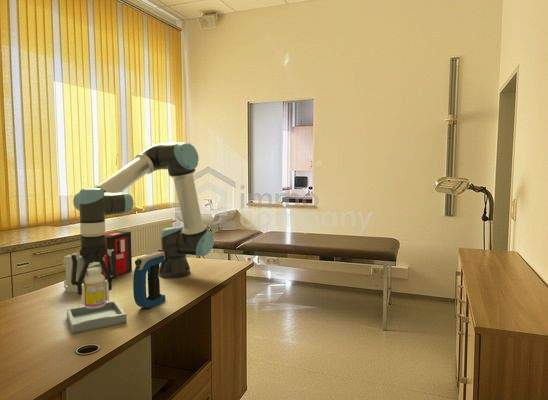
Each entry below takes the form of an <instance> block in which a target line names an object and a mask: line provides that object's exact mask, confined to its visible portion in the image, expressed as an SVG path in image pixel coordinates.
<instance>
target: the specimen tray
mask: <svg viewBox="0 0 548 400" xmlns="http://www.w3.org/2000/svg"><path fill="white" fill-rule="evenodd" d="M66 319H67V323H68V324H69V327H70V331H71V333H72V335H76V334H81V333H85V332H90V331H95V330H99V329H103V328H109V327H113V326H118V325H121V324H126V323H127V322H128V321H127V313H126V311H124V309H123V307H122V306H121V305H120V304H119V302H118V301H117V300H116V299H115V300H109V301H106V304H105V305H104V306H103V307H100V308H96V309H88V308H86V307H85V305H82V306H77V307H72V308H66Z"/></svg>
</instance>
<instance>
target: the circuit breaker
mask: <svg viewBox="0 0 548 400" xmlns="http://www.w3.org/2000/svg"><path fill="white" fill-rule="evenodd" d="M76 253H77V252H74V253H73V252H72V254H76ZM83 262H84V259H83V258H82V256H79V259H78V260H77V274H76V280H77V281H78V278H79V275H80V272H81V269H82V266H83ZM62 263H63V265H62V267H65V280H64V281H63V283H64V286H63V288H64V293H65V292H68V293H77V285H72V284H71V271H72V259H71V254H67V255H63V261H62ZM93 267H100V268H102V267H101V265H100V263H99V262H93V263H89V266H88V268H87V269H89V268H93ZM101 275H102V273H101ZM85 277H87V273H86V274H85ZM85 277H84V278H85ZM82 284H84V280H83V283H82Z"/></svg>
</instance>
